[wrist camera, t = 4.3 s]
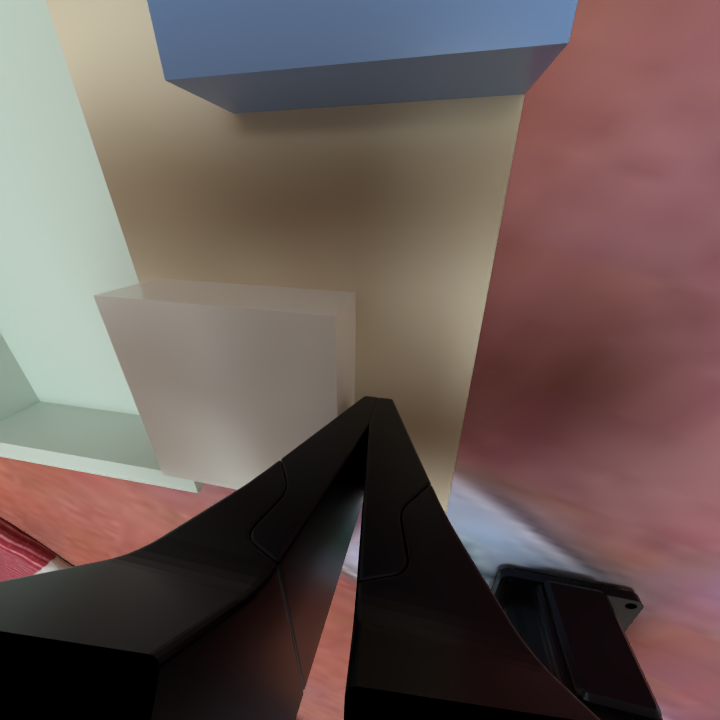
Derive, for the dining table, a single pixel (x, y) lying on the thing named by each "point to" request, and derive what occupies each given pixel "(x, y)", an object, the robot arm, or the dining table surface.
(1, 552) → the dish towel
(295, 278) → the beige flat block
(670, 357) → the dining table surface
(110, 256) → the tray
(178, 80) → the blue tile
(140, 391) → the white tile
